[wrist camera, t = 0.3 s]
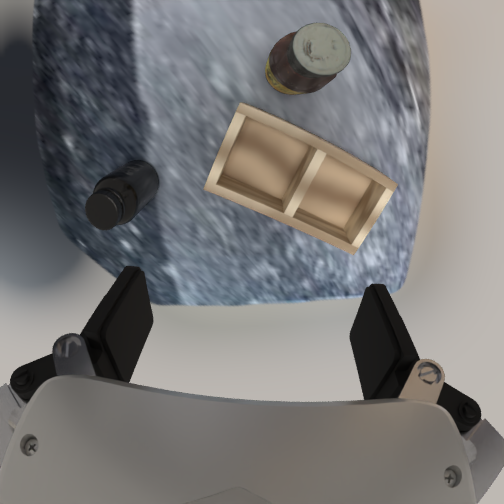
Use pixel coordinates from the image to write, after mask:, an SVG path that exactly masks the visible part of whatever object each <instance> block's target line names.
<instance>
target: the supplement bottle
mask: <svg viewBox="0 0 504 504" xmlns="http://www.w3.org/2000/svg"><path fill="white" fill-rule="evenodd" d="M157 190H158V177H157V174H156V172H155V170H154V169H153V168H152V166H150V165H149V164H148V163H146V162H144V161H139V160H134V161H130V162H128V163H126V164H124V165H123V166H121V167H119V168H118V169H116V170H114V171H113V172H111V173H109V174H108V175H106V176H105V177H103V178H102V179H101V180H99V181H98V183H97V184H96V186H95V188H94V191H93V194H92V195H91V196H90V197H89V198H88V200H87V202H86V206H85V211H86V215H87V218H88V219H89V221H90V222H91V224H92V225H93V226H95V227H96V228H98V229H100V230H110V229H112V228H113V227H114V226H116V225H123V224H126V223H128V222H130V221H131V220H132V219H133V218H134V217H135V216H136V215H137V214H138V213H139V212H140V211H141V210H142V209H143V208H144V206H145V205H146V204H147V203H148V202H149V201H150V200H151V199H152V198H153V197H154V196H155V194H156V192H157Z"/></svg>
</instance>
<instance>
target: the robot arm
mask: <svg viewBox="0 0 504 504" xmlns="http://www.w3.org/2000/svg"><path fill="white" fill-rule="evenodd" d="M152 325H153V314H152V309H151V305H150V300H149V295H148V290H147V285H146V279H145V274H144V271H141V269H140V267H135V266H126V267H125V268H124V269H123V271H122V272H121V274H120V275H119V277H118V278H117V279H116V281H115V282H114V284H113V285H112V287H111V288H110V290H109V291H108V293H107V294H106V295H105V296H104V298H103V299H102V301H101V302H100V304H99V305H98V307H97V308H96V310H95V311H94V313H93V314H92V316H91V318H90V319H89V321H88V322H87V324H86V326H85V327H84V329H83V330H82V332H81V334H80V335H78V334H76V333H69V334H65V335H63V336H61V337H60V338H58V339H57V340H56V342H55V343H54V345H53V350H52V352H53V353H52V354H50V355H47V356H45V357H42V358H40V359H37V360H35V361H33V362H30V363H28V364H25V365H23V366H21V367H19V368H17V369H16V370H15V371H14V372H13V374H12V376H11V379H10V384H9V385H7V384H6V383H5V384H4V385H3V386H1V387H0V504H477V503H478V502H479V501H480V499H481V498H482V497H483V496H484V494H485V493H486V492H487V490H488V489H489V487H490V486H491V485H492V483H493V482H494V480H495V479H496V477H497V476H498V474H499V473H500V471H501V470H502V468H503V467H504V439H503V437H502V436H501V435H500V434H499V433H498V432H497V431H496V430H495V428H494V427H493V426H492V425H491V424H490V423H489V422H488V421H487V420H486V419H484V420H482V419H481V409H480V407H479V405H478V404H477V402H476V401H474V400H473V399H471V398H470V397H468V396H467V395H465V394H463V393H461V392H460V391H458V390H457V389H455V388H453V387H451V386H450V385H448V384H447V383H445V382H444V380H445V374H444V371H443V369H442V367H441V366H440V365H439V364H438V363H436V362H435V361H433V360H430V359H421V360H420V358H419V356H418V353H417V351H416V349H415V347H414V344H413V342H412V340H411V337H410V335H409V333H408V331H407V329H406V326H405V324H404V322H403V320H402V318H401V316H400V315H399V313H398V310H397V308H396V306H395V304H394V302H393V300H392V298H391V296H390V294H389V292H388V290H387V288H386V286H385V285H384V284H371V285H370V287H367V288H366V289H365V292H364V295H363V298H362V301H361V304H360V307H359V309H358V312H357V315H356V318H355V320H354V323H353V326H352V328H351V331H350V342H351V346H352V350H353V354H354V358H355V362H356V366H357V370H358V374H359V379H360V383H361V388H362V392H363V396H364V400H357V401H333V402H281V401H257V400H244V399H231V398H222V397H212V396H203V395H195V394H188V393H182V392H176V391H169V390H164V389H158V388H153V387H148V386H142V385H137V384H132V383H129V382H130V379H131V377H132V374H133V372H134V369H135V366H136V364H137V361H138V359H139V356H140V354H141V351H142V349H143V347H144V344H145V342H146V339H147V337H148V335H149V332H150V330H151V328H152Z"/></svg>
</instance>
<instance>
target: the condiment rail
mask: <svg viewBox="0 0 504 504" xmlns="http://www.w3.org/2000/svg"><path fill="white" fill-rule="evenodd" d="M397 185H398V184H397V183H395V182H394V181H393V180H391V179H390V178H388V177H387V176H386V175H384V174H383V173H382V172H380V171H378V170H377V169H375V168H373V167H372V166H370V165H369V164H367V163H365V162H363V161H362V160H360V159H358V158H357V157H355V156H353V155H351V154H350V153H348V152H346V151H344V150H343V149H341V148H339V147H337V146H335V145H333V144H332V143H330V142H328V141H326V140H324V139H322V138H320V137H318V136H316V135H314V134H312V133H310V132H308V131H306V130H304V129H302V128H300V127H298V126H296V125H294V124H292V123H290V122H288V121H286V120H283V119H281V118H279V117H277V116H275V115H272V114H270V113H268V112H266V111H263V110H261V109H259V108H256V107H254V106H251V105H249V104H246V103H241V102H240V104H239V106H238V108H237V110H236V113H235V115H234V117H233V119H232V122H231V124H230V126H229V128H228V131H227V133H226V135H225V138H224V140H223V142H222V145H221V147H220V149H219V152H218V154H217V157H216V159H215V161H214V164H213V166H212V169H211V171H210V174H209V176H208V179H207V181H206V184H205V186H204V190H206V191H209V192H211V193H214V194H216V195H218V196H221V197H223V198H226V199H228V200H231V201H233V202H235V203H238V204H240V205H242V206H245V207H247V208H250V209H252V210H254V211H257V212H259V213H261V214H264V215H266V216H268V217H271V218H273V219H275V220H277V221H280V222H282V223H284V224H287V225H289V226H291V227H293V228H296V229H298V230H300V231H302V232H305V233H307V234H309V235H311V236H313V237H316V238H318V239H320V240H322V241H324V242H327V243H329V244H331V245H333V246H335V247H337V248H340V249H342V250H344V251H346V252H348V253H350V254H352V255H354V254H355V253H356V251H357V250H358V248H359V247H360V245H361V243H362V242H363V240H364V239H365V237H366V236H367V234H368V233H369V231H370V230H371V228H372V226H373V225H374V223H375V222H376V220H377V218H378V217H379V215H380V214H381V212H382V210H383V209H384V207H385V205H386V204H387V202H388V200H389V199H390V197H391V195H392V194H393V192H394V190H395V189H396V187H397Z"/></svg>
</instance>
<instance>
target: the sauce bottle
mask: <svg viewBox="0 0 504 504" xmlns="http://www.w3.org/2000/svg"><path fill="white" fill-rule="evenodd" d="M350 57H351V48H350V45H349V42H348V40H347V38H346V37H345V36H344V34H343V33H342V32H341V31H340V30H338V29H337V28H335V27H333V26H330V25H328V24H325V23H312V24H308V25H306V26H304V27H302V28H300V29H299V30H298V31H297V32H293V33H290V34H288V35H286V36H285V37H283V38H281V39H280V40H279V41H278V42H277V43H276V44H275V45H274V47H273V49H272V50H271V52H270V55H269V58H268V61H267V63H266V67H265V74H266V78H267V80H268V82H269V83H270V85H271V86H272V87H273V88H274V89H276V90H277V91H279V92H281V93H284V94H290V95H293V94H303V93H311V92H315V91H318V90H320V89H321V88H322V87H324V86H325V85H326V84H327V83H329V82H330V81H331V80H333V79H334V78H335V77H336V75H337V73H339V72H340V71H342V70H343V69H344V68H345V67H346V66H347V65H348V63H349V61H350Z"/></svg>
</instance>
